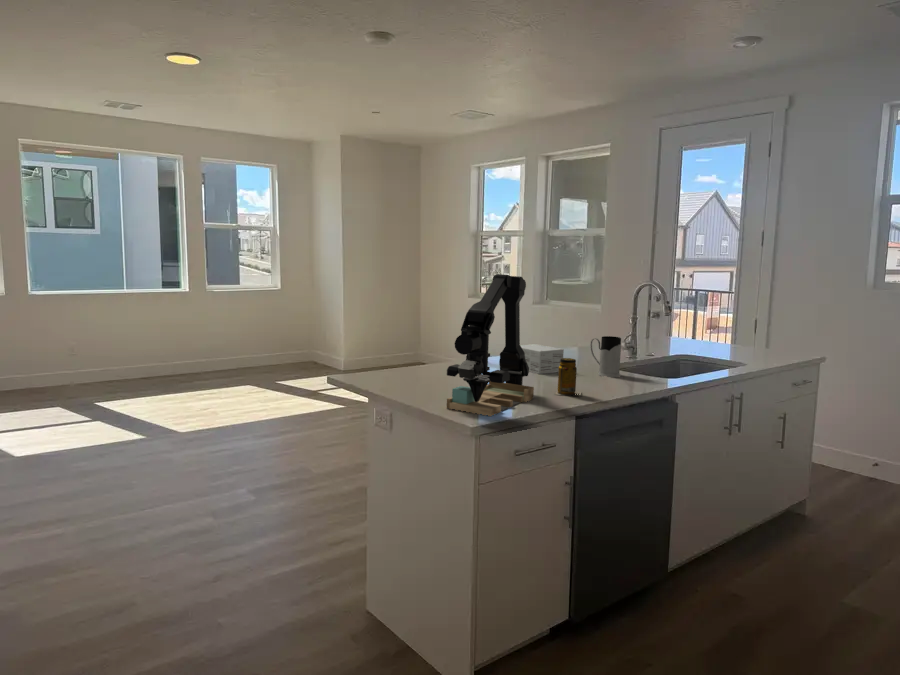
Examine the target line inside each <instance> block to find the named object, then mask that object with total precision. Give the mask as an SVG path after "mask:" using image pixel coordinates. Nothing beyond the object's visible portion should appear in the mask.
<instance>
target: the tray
mask: <svg viewBox="0 0 900 675" xmlns="http://www.w3.org/2000/svg"><path fill="white" fill-rule="evenodd" d="M534 391H535V388H534V386H529V385H523V384H522V385H516V384H510V383H506V382H504V383H495V382H491V381H490V382H488V384H487V386H486V387H485V389H484V391H483V393H482V396H481V398H480V400H479V402H475V401H473V402H471V403H468V404H462V403H457V402H452V396H450V397H448V398H446V409H447V408H449V409H448V410H452V409H455V410H454V411H458V410H461V411H460V412H463V411H466V412H465V413H469V412H472V413H471V414H475V413H477V414H476V415H480V414H482V415H481V416H486V415H488V417H492V415H493V416H494V414H495V415H497V414H499V413H501V411H502V412H504V411H505V410H509V409H511V408H513V407H516V406H518V405H519V403H520V404H522V403H528V402H530V401H532V400H534V393H535V392H534ZM527 401H528V402H527ZM521 402H522V403H521ZM510 407H511V408H510Z"/></svg>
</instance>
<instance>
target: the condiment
mask: <svg viewBox="0 0 900 675" xmlns="http://www.w3.org/2000/svg"><path fill="white" fill-rule="evenodd" d="M576 365H577V360H576V359H575V358H570V357H563V358H562V359H561V360H560V366H559V372H557V373H558V376H557V391H556V392H555V393H554V395H557V396H568V397H569V396H570V397H581V396H580V395H579V394H581V392H580V391H576V386H577V370H578V369H577V366H576ZM579 392H580V393H579ZM575 393H578V395H577V394H576V396H575ZM571 395H573V396H571Z"/></svg>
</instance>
